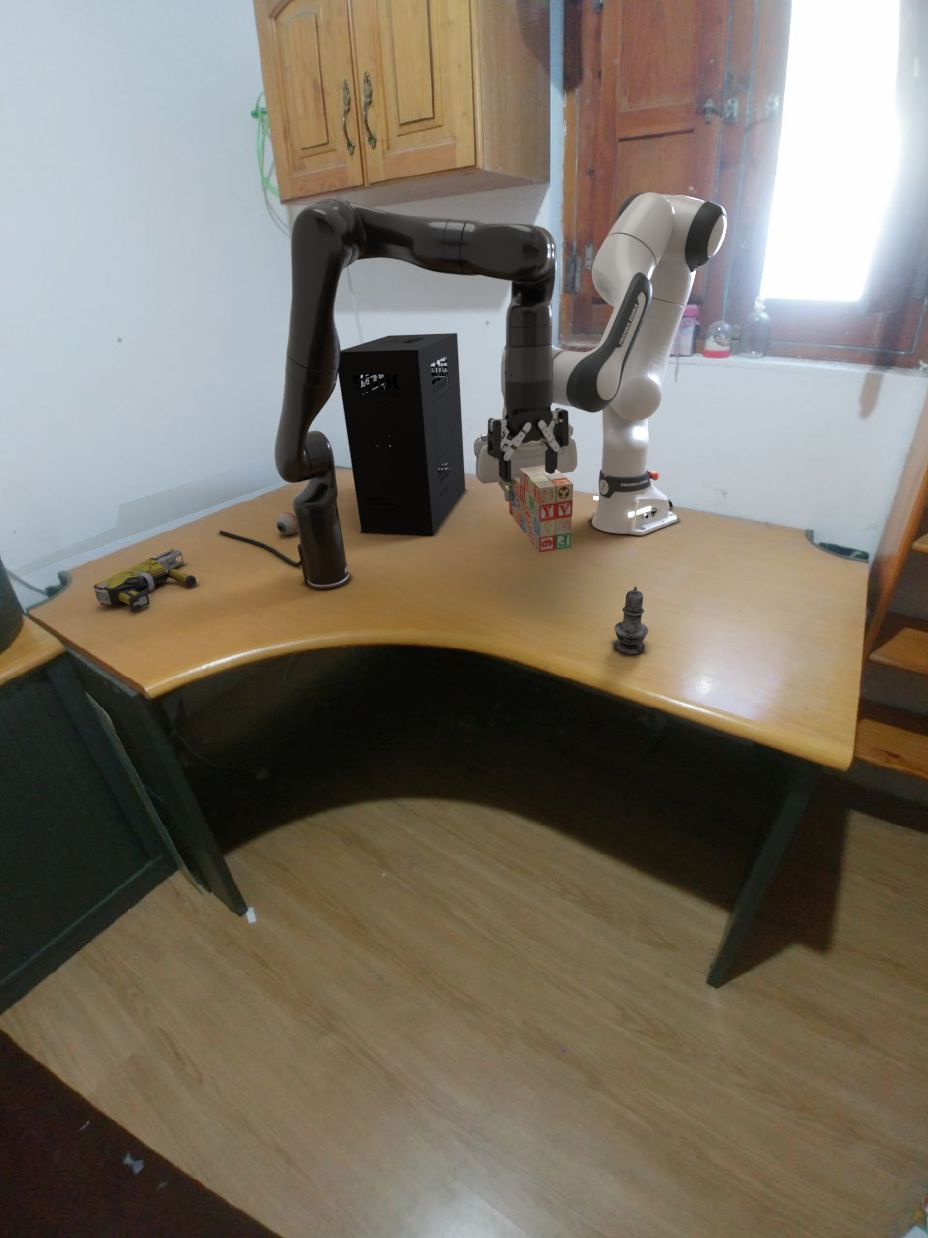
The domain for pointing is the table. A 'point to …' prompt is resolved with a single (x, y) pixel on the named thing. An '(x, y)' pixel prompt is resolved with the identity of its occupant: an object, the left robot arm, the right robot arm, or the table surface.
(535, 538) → the stack of blocks
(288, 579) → the table surface
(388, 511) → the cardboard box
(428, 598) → the table surface
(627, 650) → the grey chess piece
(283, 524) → the eyeball
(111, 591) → the toy gun
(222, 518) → the table surface
